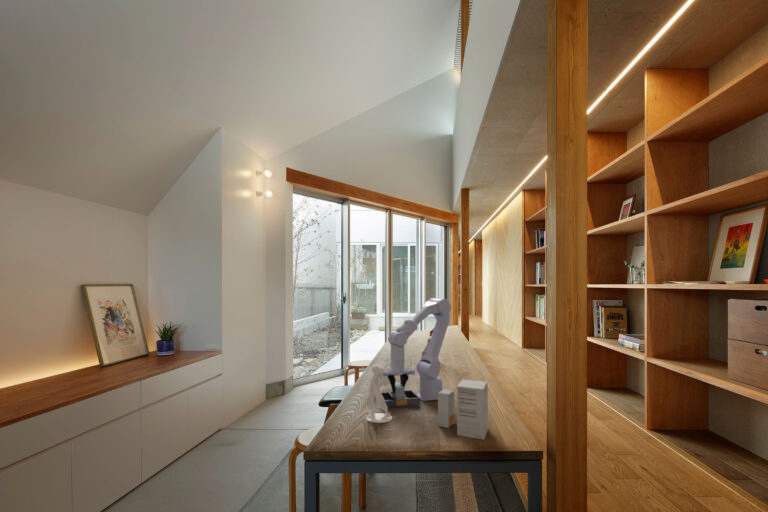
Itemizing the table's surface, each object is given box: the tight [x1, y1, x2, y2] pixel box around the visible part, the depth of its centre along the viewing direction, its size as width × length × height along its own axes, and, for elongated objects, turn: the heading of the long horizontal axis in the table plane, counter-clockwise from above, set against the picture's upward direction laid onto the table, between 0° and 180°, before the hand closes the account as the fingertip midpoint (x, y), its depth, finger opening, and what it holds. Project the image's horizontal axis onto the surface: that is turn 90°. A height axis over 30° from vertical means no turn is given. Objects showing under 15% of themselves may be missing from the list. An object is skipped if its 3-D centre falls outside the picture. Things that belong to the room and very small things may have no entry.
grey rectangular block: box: [392, 381, 406, 399], centre depth 167 cm, size 3×8×6 cm, turn 14°
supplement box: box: [456, 379, 489, 440], centre depth 138 cm, size 10×9×17 cm
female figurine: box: [351, 364, 393, 424], centre depth 153 cm, size 11×16×20 cm
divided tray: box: [381, 389, 421, 411], centre depth 168 cm, size 16×11×4 cm
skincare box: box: [437, 388, 456, 429], centre depth 145 cm, size 6×4×12 cm
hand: (397, 392), depth 168 cm, fingers closed on grey rectangular block, 3 cm apart
